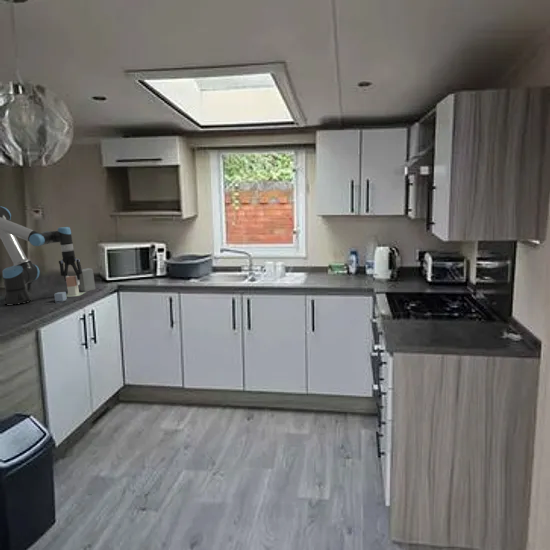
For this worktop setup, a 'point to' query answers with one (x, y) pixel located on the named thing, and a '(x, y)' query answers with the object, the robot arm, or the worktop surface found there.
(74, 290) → the brick
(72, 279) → the brick
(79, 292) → the baseplate
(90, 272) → the skincare box
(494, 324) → the worktop surface
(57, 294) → the brick
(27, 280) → the robot arm
